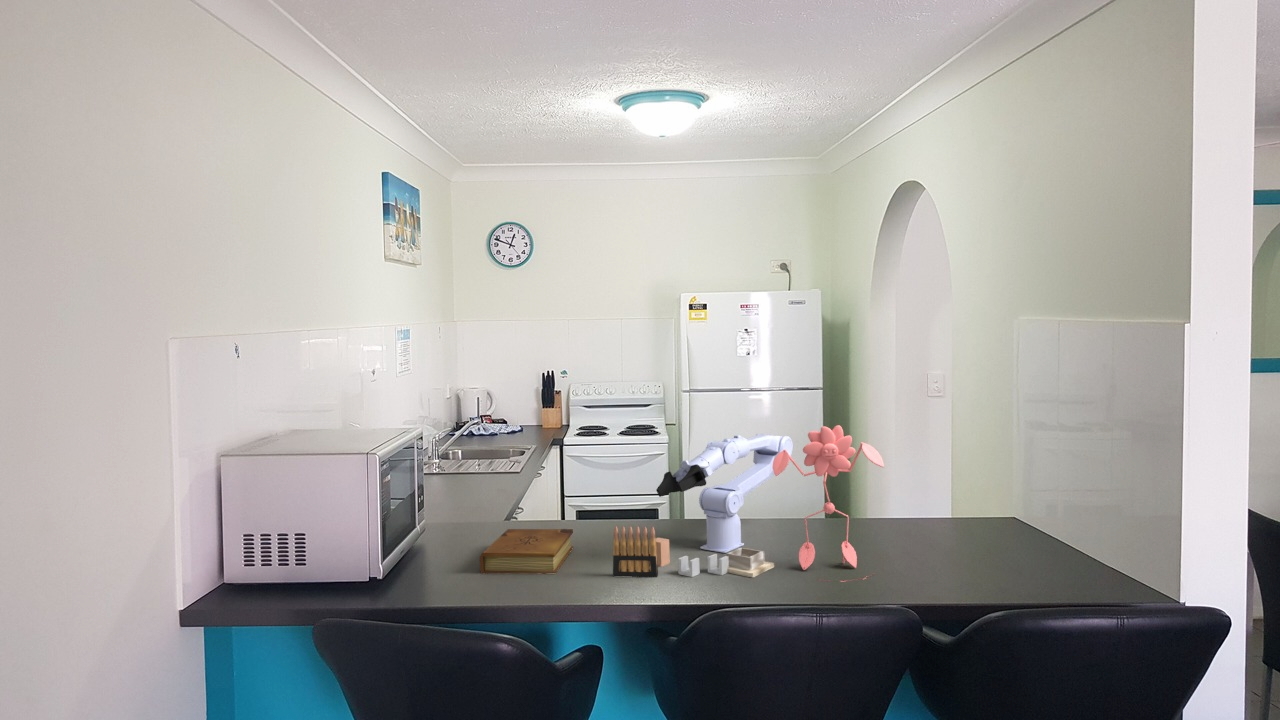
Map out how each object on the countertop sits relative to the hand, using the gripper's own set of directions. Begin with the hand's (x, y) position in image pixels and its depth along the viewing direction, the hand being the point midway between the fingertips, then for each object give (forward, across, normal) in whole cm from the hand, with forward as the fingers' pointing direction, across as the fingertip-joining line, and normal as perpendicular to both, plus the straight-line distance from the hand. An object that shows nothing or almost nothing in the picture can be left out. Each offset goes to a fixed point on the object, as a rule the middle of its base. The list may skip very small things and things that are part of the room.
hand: (669, 490), depth 209 cm
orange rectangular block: (+5, -9, +16) cm, 19 cm away
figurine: (-13, +24, +33) cm, 43 cm away
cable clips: (+5, +4, +20) cm, 21 cm away
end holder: (-4, +9, +25) cm, 26 cm away
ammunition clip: (+15, -7, +14) cm, 22 cm away
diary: (+22, -36, +3) cm, 42 cm away
